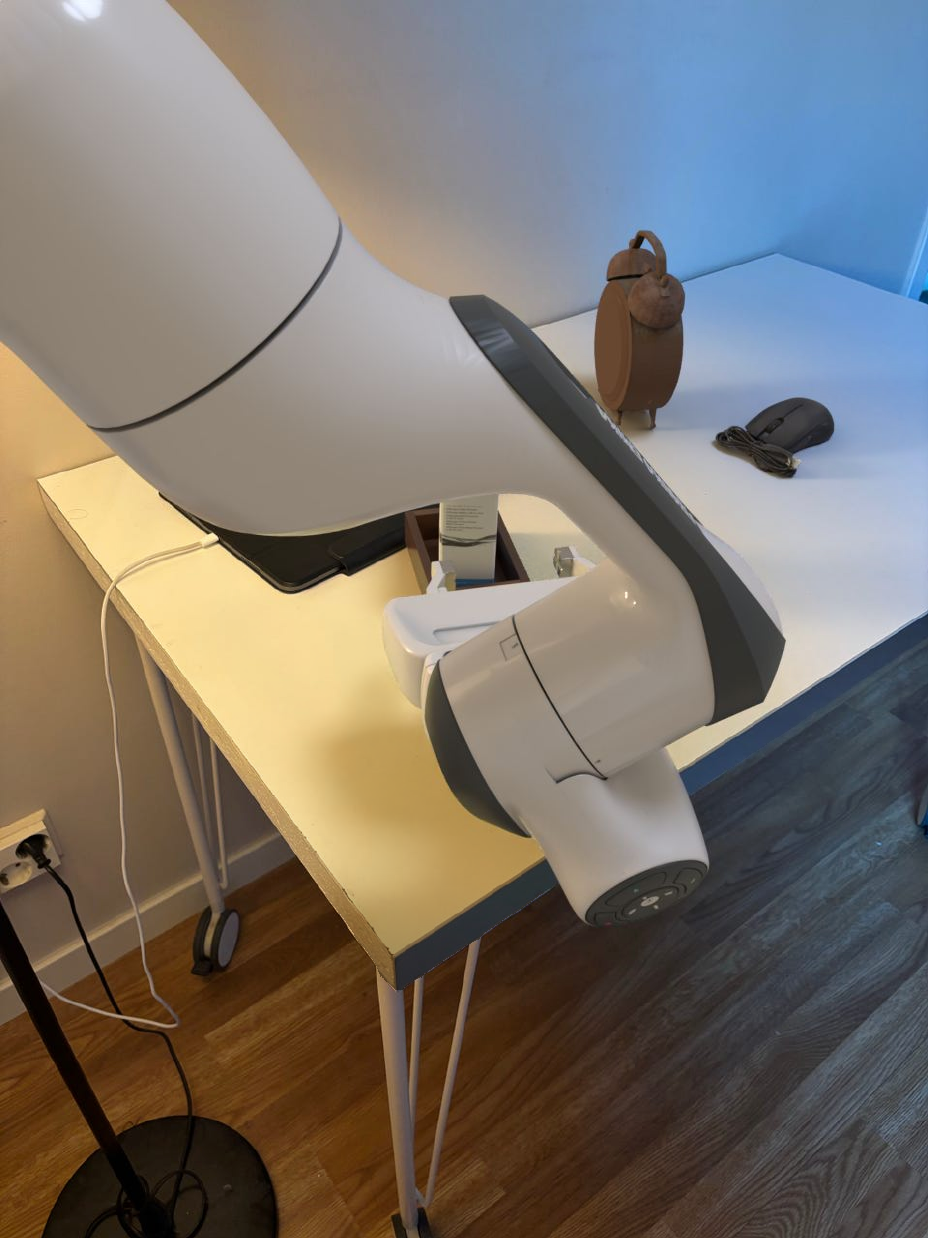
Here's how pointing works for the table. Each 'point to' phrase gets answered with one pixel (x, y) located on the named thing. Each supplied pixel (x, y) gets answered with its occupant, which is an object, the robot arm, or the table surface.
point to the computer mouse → (781, 433)
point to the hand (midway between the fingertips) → (502, 560)
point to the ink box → (469, 538)
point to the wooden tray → (426, 550)
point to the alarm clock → (639, 330)
